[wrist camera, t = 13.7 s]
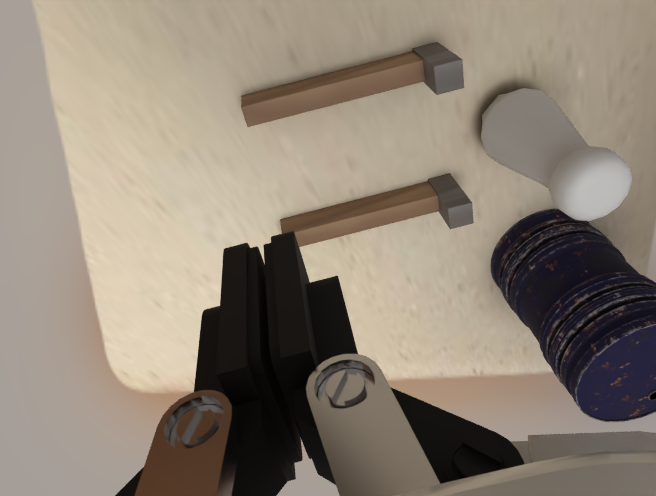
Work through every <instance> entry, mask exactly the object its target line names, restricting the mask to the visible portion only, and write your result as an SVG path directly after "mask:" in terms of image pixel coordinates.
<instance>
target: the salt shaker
mask: <svg viewBox="0 0 656 496" xmlns="http://www.w3.org/2000/svg"><path fill="white" fill-rule="evenodd" d="M482 122H483V123H482V132H481V140H482V143H483V145H484V148H485V150H486V152H487V154H488V156H489V157H491V158H492V159H494V160H495V161H497V162H498V163H499V164H501V165H503V166H505V167H507V168H509V169H511V170H514V171H516V172H518V173H520V174H522V175H524V176H526V177H528V178H530V179H532V180H534V181H536V182H538V183H540V184H542V185H544V186H546V187H548V188H549V190H550V194H551V197H552V200H553V203H554V204H555V205H556V207H557V208H558V209H559V210H561V211H562V212H564V213H565V214H567V215H568V216H570V217H571V218H573V219H575V220H581V221H592V220H595V219H598V218H601V217H604V216H606V215H607V214H609V213H610V212H612V211H613V210H614V209H616V208H617V207H619V205H620V204H621V202H622V201H623V200H624V198H625V197H626V196H627V194H628V192H629V189H630V185H631V182H632V175H631V171H630V167H629V166H628V164H627V163H626V162H625V161H624V160H623V159H622V158H621V157H619V156H618V155H617V154H616V153H615V152H613V151H611V150H610V149H608V148H601V147H591V146H588V144H587V143H586V142H585V140H584V139H583V138H582V136H581V135H580V134H579V132H578V131H577V130H576V128H575V127H574V126H573V124H572V123H571V121H570V120H569V119H568V117H567V116H566V115H565V113H564V112H563V111H562V109H561V108H560V107H559V105H558V104H557V103H556V101H555V100H554V99H552V98H551V97H550V96H549V95H548V94H547V93H546V92H544V91H542V90H535V89H527V88H522V89H519V90H516V91H513V92H510V93H507V94H500V95H498V96H497V97H496V98H495V99H494V101H493V102H492V103H491V104H490V105H489V107H488V108H487V109H486V110H485V112H484V113H483V114H482Z"/></svg>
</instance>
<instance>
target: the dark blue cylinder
mask: <svg viewBox="0 0 656 496" xmlns="http://www.w3.org/2000/svg"><path fill="white" fill-rule="evenodd" d="M491 273H492V277H493V279H494V281H495V283H496V284H497V286H498V287H499V288H500V289H501V291H502V293H503V296H504V298H505V300H506V301H507V303H508V304H509V306H510V307H511V309H512V310H513V311H514V312H515V313H516V314H517V316H518V317H519V319H520V320H521V321H522V322H523V323H524V324H525V325H526V326H527V327H529V328H530V330H531V331H532V333H533V334H534V336H535V337H536V339H537V340H538V342H539V344H540V348H541V351H542V352H543V356H544V358H545V360H546V361H547V362H548V364H549V365H550V366H551V368H552V370H553V372H554V373H555V375H556V376H557V378H558V379H559V381H560V382H561V383H562V384H563V385H564V386H565V387H566V389H567V390H568V392H569V393H570V394H571V395H572V397H573V399H574V401H575V402H576V404H577V405H578V407H579V408H580V409H581V411H582V412H583V413H584V414H586V415H587V416H589V417H591V418H593V419H596V420H600V421H604V422H622V421H629V420H634V419H638V418H641V417H644V416H647V415H650V414H653V413H655V412H656V283H655V282H653V281H652V280H650V279H649V278H647V277H645V276H643V275H640V274H639V273H638V272H637V271H636V270H635V269H634V268H633V267H632V266H630V265H629V264H628V263H627V262H626V260H625V258H624V256H623V255H622V253H621V252H620V251H619V250H618V249H617V248H616V247H615V246H613V244H612V243H611V241H610V240H609V239H608V238H607V237H606V236H604V235H603V234H602V233H601V232H600V231H599V230H597V229H596V228H594V227H593V226H591V225H590V224H589V223H588V222H587V221H581V220H575V219H573V218H571V217H570V216H568V215H567V214H565V213H564V212H562V211H561V210H559V209H550V210H544V211H540V212H537V213H534V214H532V215H530V216H528V217H526V218H524V219H522V220H520V221H519V222H518V223H516V224H515V225H513V226H512V227H511V228H510V229H509V230H508V231H507V232H506V233H505V234H504V235H503V237H502V238H501V239H500V241H499V242H498V244H497V245H496V248H495V250H494V252H493V255H492V259H491Z"/></svg>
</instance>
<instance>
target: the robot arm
mask: <svg viewBox="0 0 656 496" xmlns="http://www.w3.org/2000/svg"><path fill="white" fill-rule="evenodd" d="M264 259H265V265H264V262H263V259H262V256H261V253H260V251H259V248H258V247H253V248H250V247H249V245H248V243H244V244H240V245H237V246H233V247H229V248H225V249H224V253H223V269H222V285H221V301H220V306H218V307H214V308H210V309H206V310H204V311H203V314H202V321H201V330H200V340H199V349H198V359H197V368H196V378H195V387H194V392H193V393H190V394H188V395H186V396H184V397H182V398H181V399H179V400H178V401H177V402H175V403H174V404H173V405H171V407H169V409H168V410H167V411H166V412H165V413H164V415H163V416H162V418H161V420H160V422H159V424H158V426H157V429H156V432H155V435H154V438H153V441H152V444H151V447H150V450H149V453H148V456H147V459H146V463H145V465H144V467H143V468H142V469H141V470H140V471H139V472H138V473H137V474H136V475H135V476H134V478H132V479H131V480H130V481H129V482H128V483H127V484H126V485H125V487H124V488H122V489H121V490H120V491H119V492H118V494H117V495H115V496H276V495H277V494H278V493H279V491H280V490H281V489H282V487H283V486H284V485H285V484H286V483H287V481H290V480H294V479H296V478H295V466H294V463H295V462H299V461H302V449H301V439H302V442H303V444H304V447H305V450H306V452H307V454H308V457H309V458H310V459H311V458H312V460H313V462H314V465H315V468H316V470H317V473H318V474H319V475H320V476H322V477H324V478H325V479H327V480H329V481H331V482H332V483H334V484H335V485H336V486H337V489H338V492H339V495H340V496H656V433H650V432H641V431H634V432H607V433H606V432H605V433H577V434H549V435H528V441H517V442H510V441H509V440H508V439H506V438H504V437H503V436H501V435H499V434H498V433H496V432H494V431H491V430H488V429H486V428H484V427H482V426H480V425H477V424H475V423H473V422H470V421H468V420H465V419H463V418H461V417H458V416H456V415H454V414H452V413H449V412H446V411H445V410H442V409H440V408H438V407H435V406H432V405H431V404H428V403H426V402H424V401H421V400H419V399H417V398H414V397H412V396H409V395H407V394H405V393H402V392H400V391H398V390H395V389H393V388H391V387H390V386H389V384H388V382H387V380H386V378H385V376H384V374H383V372H382V371H381V369H380V368H379V366H378V365H377V364H376V363H375V361H373V360H371V359H370V358H368V357H366V356H363V355H359V354H358V353H357V349H356V345H355V341H354V337H353V333H352V329H351V325H350V321H349V317H348V313H347V309H346V305H345V302H344V298H343V294H342V290H341V286H340V282H339V279H338V276H334V277H331V278H327V279H323V280H319V281H315V282H311V283H310V282H309V279H308V275H307V272H306V269H305V265H304V262H303V259H302V256H301V252H300V249H299V246H298V242H297V239H296V236H295V233H294V231H291V232H287V233H283V234H279V235H275V236H272V237H271V243H269V244H265V245H264ZM300 437H301V438H300Z"/></svg>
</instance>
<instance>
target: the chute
mask: <svg viewBox="0 0 656 496" xmlns="http://www.w3.org/2000/svg"><path fill="white" fill-rule="evenodd" d="M419 82H424V83H425V84H426V85H427V86H428V87H429V88H430V89H431V90H432V91H433V92H434V93H435V94H436V95H438V94H442V93H446V92H450V91H454V90H457V89H461V88H464V78H463V64H462V59H461V58H459V57H458V56H457V55H455V54H454V53H452V52H451V51H449V50H448V49H447V48H445V47H444V46H442V45H441V44H439V43H438V42H436V43H432V44H428V45H425V46H421V47H417V48H413V52H409V53H405V54H401V55H398V56H394V57H390V58H386V59H382V60H378V61H375V62H371V63H367V64H363V65H359V66H355V67H351V68H348V69H344V70H340V71H336V72H332V73H328V74H325V75H321V76H317V77H313V78H309V79H305V80H302V81H298V82H294V83H290V84H286V85H282V86H278V87H275V88H271V89H267V90H263V91H259V92H255V93H252V94H248V95H244V96H242V100H241V108H242V111H243V114H244V117H245V120H246V123H247V127H250V126H254V125H258V124H261V123H265V122H269V121H273V120H277V119H281V118H285V117H288V116H292V115H296V114H300V113H304V112H308V111H311V110H315V109H319V108H323V107H327V106H331V105H335V104H338V103H342V102H346V101H350V100H354V99H358V98H362V97H365V96H369V95H373V94H377V93H381V92H385V91H389V90H392V89H396V88H400V87H404V86H408V85H412V84H416V83H419ZM437 211H439V213H440V214H441V216H442V217H443V219H444V220H445V222H446V224H447V225H448V227H449V228H450V229H453V228H457V227H460V226H464V225H468V224H472V223H473V209H472V202H471V201H470V199H469V198H468V197H467V195H466V194H465V193H464V192H463V190H462V189H461V188H460V186H459V185H458V184H457V182H456V181H455V180H454V179H453V177H452V176H451V175H450V174H447V175H443V176H439V177H435V178H431V179H428V182H424V183H420V184H417V185H413V186H409V187H405V188H401V189H397V190H393V191H389V192H386V193H382V194H378V195H374V196H370V197H366V198H362V199H358V200H354V201H351V202H347V203H343V204H339V205H335V206H331V207H327V208H323V209H320V210H316V211H312V212H308V213H304V214H300V215H296V216H292V217H289V218H285V219H281V220H280V221H281V229H282V234H283V233H287V232H291V231H294V233H295V236H296V239H297V242H298V246H299V247H301V246H305V245H309V244H313V243H317V242H320V241H324V240H328V239H332V238H336V237H340V236H344V235H348V234H352V233H355V232H359V231H363V230H367V229H371V228H375V227H379V226H383V225H386V224H390V223H394V222H398V221H402V220H406V219H410V218H414V217H418V216H421V215H425V214H429V213H433V212H437Z"/></svg>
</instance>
